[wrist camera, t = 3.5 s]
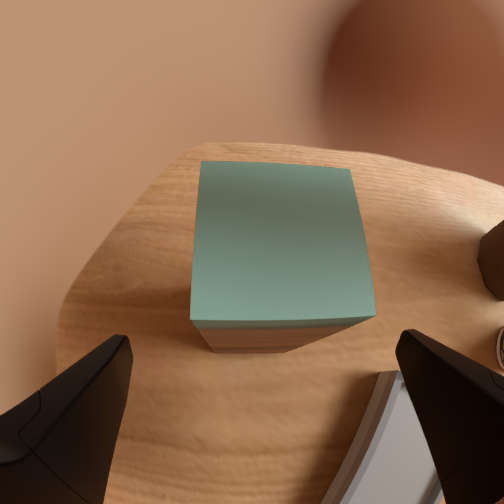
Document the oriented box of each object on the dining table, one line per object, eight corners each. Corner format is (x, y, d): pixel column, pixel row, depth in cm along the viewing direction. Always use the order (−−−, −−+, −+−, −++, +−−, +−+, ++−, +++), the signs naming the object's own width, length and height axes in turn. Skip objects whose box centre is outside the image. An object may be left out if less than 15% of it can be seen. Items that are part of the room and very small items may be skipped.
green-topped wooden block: (284, 352, 18) (376, 315, 7) (214, 353, 18) (189, 319, 6) (282, 286, 20) (349, 169, 9) (215, 286, 20) (201, 161, 8)
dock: (404, 525, 12) (420, 534, 10) (311, 517, 13) (321, 532, 11) (460, 397, 17) (480, 397, 15) (379, 371, 18) (398, 370, 16)
